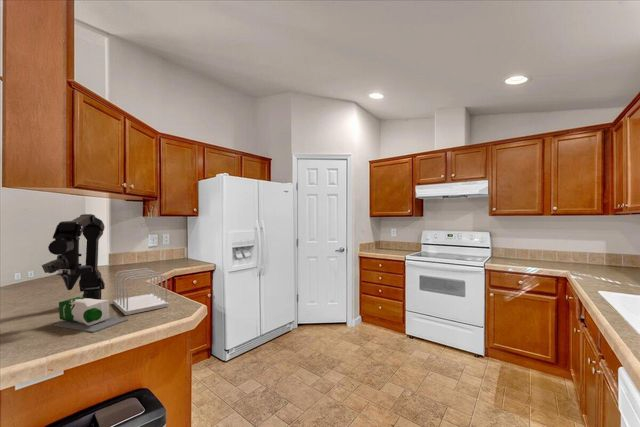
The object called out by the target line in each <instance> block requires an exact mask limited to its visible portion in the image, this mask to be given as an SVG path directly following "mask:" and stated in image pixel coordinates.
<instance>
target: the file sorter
mask: <svg viewBox="0 0 640 427" xmlns="http://www.w3.org/2000/svg"><path fill="white" fill-rule="evenodd" d="M125 277H126V278H125ZM119 278H120V279H119ZM159 278H160V279H159ZM163 278H164V279H165V293H164V294H165V296H164V297H165V300H164V298H163V292H164V291H163V290H164V289H163ZM128 279H129V280H128ZM144 279H150V289H149V290H150V291H149V292H150V293H148V294H142V295H135V296H131V297H130V296H129V284H130V283H131V282H132V281H136V280H144ZM122 280H123V281H122ZM127 280H128V281H127ZM159 280H160V281H159ZM126 281H127V283H126ZM159 282H160V283H159ZM125 283H126V292H125ZM159 284H160V286H159ZM156 286H157V295H156ZM159 287H160V288H159ZM152 289H153V290H152ZM159 289H160V291H159ZM125 293H126V297H125ZM159 293H160V294H161V296H160V294H159ZM112 305H114V306H115V307H116V308H117V309H118V310H119V311H121V313H123V315H124V316H128V315H129V316H130V315H134V314H138V313H142V312H148V311H153V310H157V309H165V308H168V307H169V306H170V303H169V302H168V278H167V277H166V276H165V275H163V274H161V273H160V272H156V271H154V270H152V269H150V268H149V267H148V268H146V267H145V268H136V269H128V270H120V271H117V273H116V274H115V275H114V299H113V300H112Z"/></svg>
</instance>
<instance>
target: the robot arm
mask: <svg viewBox="0 0 640 427" xmlns="http://www.w3.org/2000/svg"><path fill="white" fill-rule="evenodd" d="M105 227H106V226H105V224H104V222H103V220H102V219H100V218H98V217H97V216H96V215H95V214H92V213H90V214H88V213H86V214H85V213H84V214H80V215H79V216H78V217H76V218H74V219H72V220H65V221H60V222H59V223H58V224H57V226H56V227H55V230H54V234H53V236H52V240H53V239H54V240H53V241H51V242H50V243H49V244H48V246H47V247H48V249H47V250H48V251H49V253H50V254H52V255H56V259H54V260H50V261H48V262H45V263H44V264H41V267H42V269H43V270H42V271H43V272H44V273H46V274H47V273H48V274H54V273H56V272H57V273H56V275H57V276H59V277H60V278H61V279H62V280H63V282H64V284H65V287H66V289H67V290H68V291H72V290H73V289H74V286H75V285H76V283H77V281H78V280H79V281H78V286H79V292H80V293H82V292H83V293H82V298H89V299H97V300H102V290H105V288H106V287H105V285H106V284H105V281H104V279H103V277H102V273H101V272H100V270H99V269H98V266H99V265H98V264H99V263H98V262H99V241H100V238H101V237H102V236H103V234H104V231H105V229H106V228H105ZM81 236H83V237H84V239H85V240H86V245H85V246H86V247H85V249H86V250H85V264H84V265H82V263H81V262H80V257H82V255H83V254H82V253H80V239H81V238H80V237H81Z"/></svg>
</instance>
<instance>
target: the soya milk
mask: <svg viewBox="0 0 640 427" xmlns="http://www.w3.org/2000/svg"><path fill="white" fill-rule="evenodd" d="M109 302H110V301H109V299H101V300H97V299H89V298H83V296H76V297H73V298H68V299H66V300H63V301H58V311H59V312H58V314H59V315H58V317H59V320H62V321H73V322H79V323H84V324H86V325H87V326H90V325H93V324H95V323H98V322H101V321H103V320H106V319H108V318H109V316H110V306H109V304H110V303H109Z"/></svg>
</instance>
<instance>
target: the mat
mask: <svg viewBox="0 0 640 427" xmlns="http://www.w3.org/2000/svg"><path fill="white" fill-rule="evenodd" d="M127 321H129V319H128V318H122V317H115V316H110V315H109V318H108V319H106V320H103V321H101V322H98V323H95V324H93V325H90V326H87V325H86V324H84V323H79V322H73V321H67V320H63V321H61V322H58V323H54V324H53V326H54V327H59V328H60V327H61V328H64V329H70V330H71V329H72V330H76V331H82V332H86V333H87V332H88V333H92V334H94V333H97V332H101V331H103V330H106V329H109V328H111V327H114V326H116V325H119V324H122V323H125V322H127Z"/></svg>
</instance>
